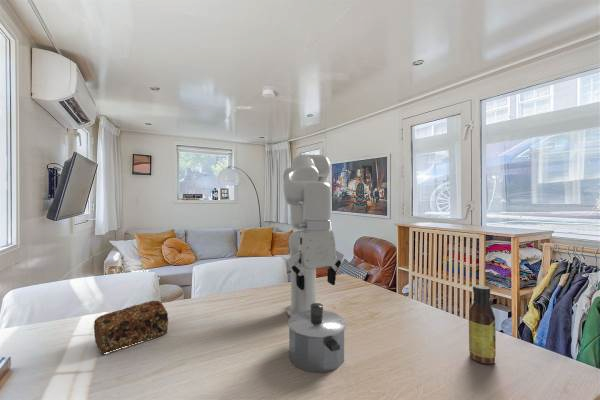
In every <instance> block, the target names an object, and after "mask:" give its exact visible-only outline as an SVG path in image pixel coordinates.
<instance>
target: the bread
mask: <svg viewBox="0 0 600 400" xmlns="http://www.w3.org/2000/svg"><path fill="white" fill-rule="evenodd" d="M168 315H169V313H168V311H167V310H166V308H165V306H164V305H163V303H162V302H161V301H159V300H150V301H145V302H143V303H140V304H139V303H138V304H134V305H131V306H130V307H125V308H123V309H118V310H115V311H112V312H109V313H105V314H102V315H100V316H98V317H97V318H95V320H94V322H93V324H94V325H93V330H94V331H93V333H94V335H93V336H94V339H95V340H94V342H95V345H96V344H97V345H96V347H97V346H98V347H97V348H98V349H100V350H99V352H100V351H101V352H100V354H101V353H102V354H104V353H106V352H110V351H113V350H116V349H119V348H122V347H125V346H129V345H132V344H135V343H138V342H141V341H144V342H146V341H145V340H148V339H151V338H154V337H157V338H159V337H158V336H160V337H161V336H164V335H167V333H168V327H169V317H168ZM151 340H152V339H151ZM148 341H149V340H148ZM102 354H101V355H102Z"/></svg>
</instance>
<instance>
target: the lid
mask: <svg viewBox="0 0 600 400" xmlns="http://www.w3.org/2000/svg"><path fill="white" fill-rule="evenodd" d="M287 323H288V329H289V328H290V330H291V331H293V332H294V333H296V334H298V335H301V336H304V337H309V338H328V337H333V336H336V335H338V334H340V333H342V332H343V331H344V332H345V329H346V320H345V319H344V317H343V316H341V315H340V314H338V313H335V312H334V311H333V312H332V311H330V310H329V311H328V310H324V305H323V304H322V303H319V302H316V303H313V304H311V310H307V311H302V312H298V313H296V314H294V315H292V316H291V317H290V316H289V318H288V321H287Z"/></svg>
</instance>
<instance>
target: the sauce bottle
mask: <svg viewBox="0 0 600 400" xmlns="http://www.w3.org/2000/svg"><path fill="white" fill-rule="evenodd" d="M472 291H473V303H472V304H471V306H470V307H469V310H468V351H469V356H470V358H471V359H472V360H473V361H475V362H478V363H480V364H486V365H491V364H494V363H495V362H496V355H497V354H496V352H497V350H496V348H497V347H496V346H497V345H496V338H497V337H496V336H497V335H496V334H497V333H496V332H497V331H496V316H495V313H494V311H493V308H492V305H491V302H490V298H491V297H490V294H491V288H490V287H489V286H486V285H482V284H481V285H480V284H474V285H472Z"/></svg>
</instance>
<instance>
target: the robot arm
mask: <svg viewBox="0 0 600 400" xmlns="http://www.w3.org/2000/svg"><path fill="white" fill-rule="evenodd" d="M330 170H331V162H330V160H329V158H328V157H327V156H326V155H323V154H299V155H297V156H295V157H294V158H293V160H292V163H291V166H290V167H287V168H286V169H285V170H283V175H282V176H283V177H282V181H283V197H284V200H285V202H286V204H288V205H289V207H290V209H289V210H290V220H291V221H290V222H291V226H292V228H293V229H294V230H295V231H294V232H292V233H290V235H289V237H288V247H289V255H290V257H289V258H288V259H287V260H286V261H287V264H288V266H289V267H290V272H291V273H290V306H289V307H288V308H287V309H286V314H287V316H288V317H289V318H290V317H291V316H292V315H294V314H296V313H298V312H302V311H307V310H311V304H313V303H317V269H320V268H327V277H326V278H327V283H328V284H329V285H332V286H335V285H336V278H337V277H336V276H337V273H336V272H337V271H338V268H339V267H340V266H341V265H342V261H343V258H344V257H345V255H344V254H343V253H342V252H340V251H338V250H337V249H336V248H337V247H336V240H335V234H334V229H333V223H332V217H331V199H332V189H331V188H332V187H331V184H330V183H329V182H326V180H327V178H328V176H329V175H330ZM296 230H297V231H296Z"/></svg>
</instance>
